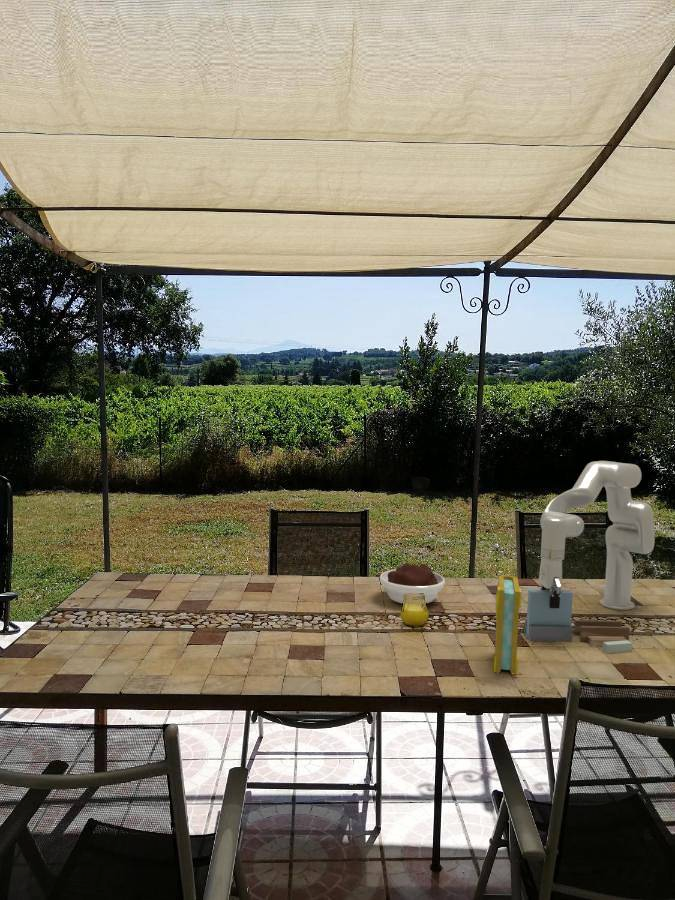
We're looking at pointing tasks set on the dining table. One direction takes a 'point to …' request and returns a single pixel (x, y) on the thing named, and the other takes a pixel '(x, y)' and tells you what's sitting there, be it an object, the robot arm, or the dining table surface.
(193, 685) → the dining table surface
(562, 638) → the grey rack
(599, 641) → the offcut lower
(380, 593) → the dining table surface
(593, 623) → the walnut rack
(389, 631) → the dining table surface
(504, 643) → the book
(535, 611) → the tall sheet
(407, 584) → the bowl of chocolate mousse
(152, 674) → the dining table surface
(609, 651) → the offcut upper
